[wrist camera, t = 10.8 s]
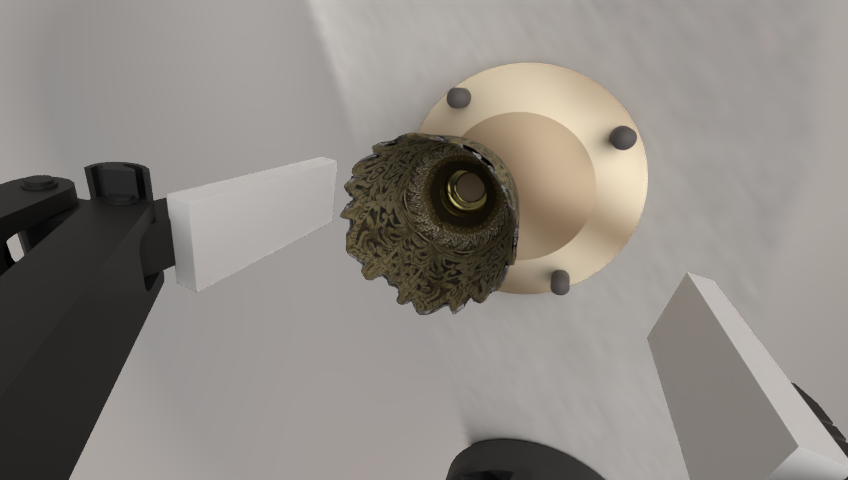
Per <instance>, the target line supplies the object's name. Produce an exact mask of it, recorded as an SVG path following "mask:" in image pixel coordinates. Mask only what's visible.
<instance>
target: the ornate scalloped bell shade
mask: <svg viewBox="0 0 848 480" xmlns="http://www.w3.org/2000/svg"><path fill="white" fill-rule="evenodd" d="M372 149H373V153H374V154H373V155H370V156H368V157H366V158H363V159H361V160H360V161H359V162H358V163H357V164H355V166H354V167H353V168H352V174H353V176H352V177H351V179H350V181H348V182H347V183H346V184H345V185H344V188H345V190H346V191H347V192H348V193H349V196H350V197H352V198H353V200H352V201H351V202H350V203H348V204H347V205H346V207H345V209H344V210H343V211H342V213H341V215H340V217H342V218H345V219H349V220H350V227H349V230H348V232H347V233H346V251H347V253H348V254H349V255H350V256H351V257H353V258H355V259H356V260H357V261H358V262H360V263H361V264H362V265H363V266H362V270H361V272H362V274H363V276H364V277H365V279H367V280H374V279H375V278H377V277H380V276H383V277H384V278H385V279H386V280H387V282H388V285H389V286H393V287H395V288H397V289H398V293H399V295H398V297H397V302H398V303H399V304H401V305H403V304H407V303H409V302H410V301H412V303H413V306H414V308H415V309H416V312H417V313H418V314H420V315H428V314H431V313H433V312H436V311H437V310H439V309H440V308H442V307H444V306H448V305H449V308H450V310H451V311H452V314H456V313H457V312H459V311H460V310H461V309H463V308H464V307H465V305H466V303H467V302H468V300H469V299H470V298H472V299H473V301H474V302H475V301H476V302H477V303H482V302H484V301H485V300H486V299H487V297H488V295H489V294H490V293H492V291H497V290H499V288H500V287H501V286H502V284H503V282H504V280H505V278H506V275H507V272H508V269H509V266H512V265H513V266H514V263H515V261H516V256H517V243H518V237H519V218H520V205H519V196H518V191H517V187H516V184H515V181H514V178H513V176H512V174H511V172H510V170H509V169H508V167H507V166H506V164H505V163H504V162H503V161H502V160H501V158H500V157H499V156H498V155H496V154H495V153H494V152H493V151H492V150H490V149H489V148H488V147H486V146H484V145H482V144H480V143H478V142H476V141H473V140H471V139H467V138H464V137H458V136H452V135H434V134H425V133H409V134H405V135H401V136H399V137H398V138H397V139H395V140H393V141H389V142H381V143H378V144H376V145H374V146H373V147H372ZM465 174H475V175H476V176H478V177H479V178H480V179H481V181H482V182H483V184H484V193H483V195H482V196H481V197H480V198H479V199H478V200H476V201H466V200H464V199H463V198H461V197H460V195H459V194H458V191H457V183H458V180H459V179H460V178H461V177H462V176H463V175H465Z"/></svg>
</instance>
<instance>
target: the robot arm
mask: <svg viewBox="0 0 848 480" xmlns="http://www.w3.org/2000/svg"><path fill="white" fill-rule="evenodd" d="M337 164H338V162H337V161H335V160H332V159H329V158H326V157H323V156H322V157H317V158H313V159H309V160H305V161H301V162H297V163H293V164H289V165H284V166H280V167H276V168H272V169H268V170H264V171H260V172H256V173H251V174H247V175H244V176H239V177H235V178H231V179H227V180H223V181H218V182H215V183H210V184H206V185H202V186H198V187H194V188H190V189H185V190H182V191H177V192H173V193H169V194H166V197H167V198H163V199H159V200H156V201H154V200H153V193H152V186H151V179H150V172H149V169H148V168H147V167H145V166H143V165H139V164H134V163H127V162H105V163H98V164H93V165H89V166H87V167H84V169H85V174H86V178H87V183H88V187H89V191H90V196H91V199H90V200H84V199H79V198H77V193H76V189H75V185H74V182H72V181H71V180H69V179H64V178H59V177H51V176H48V175H43V176H41V175H40V176H39V175H37V176H30V177H26V178H21V179H17V180H13V181H9V182H6V183H4V184H0V480H69V478H70V476H71V474H72V472H73V470H74V467H75V465H76V463H77V461H78V459H79V457H80V455H81V453H82V451H83V449H84V447H85V444H86V443H87V440H88V438H89V436H90V434H91V432H92V430H93V428H94V426H95V424H96V422H97V420H98V418H99V416H100V413H101V411H102V409H103V407H104V405H105V403H106V401H107V399H108V397H109V395H110V393H111V391H112V389H113V387H114V384H115V382H116V380H117V378H118V376H119V374H120V372H121V370H122V368H123V366H124V364H125V362H126V360H127V358H128V356H129V353H130V351H131V349H132V347H133V345H134V343H135V341H136V339H137V337H138V335H139V333H140V331H141V329H142V327H143V324H144V322H145V320H146V318H147V316H148V314H149V312H150V310H151V308H152V306H153V304H154V302H155V299H156V297H157V295H158V293H159V291H160V289H161V287H162V285H163V283H164V272H163V270H165V269H167V268H169V267H171V266H174V265H175V270H176V279H177V283H178V284H180V285H182V286H184V287H186V288H188V289H191V290H193V291H195V292H199V291H201V290H203V289H205V288H207V287H209V286H211V285H212V284H214V283H216V282H218V281H220V280H222V279H224V278H226V277H228V276H230V275H232V274H233V273H235V272H237V271H239V270H241V269H243V268H245V267H247V266H248V265H251V264H253V263H254V262H256V261H258V260H260V259H262V258H264V257H266V256H268V255H270V254H272V253H273V252H275V251H277V250H279V249H281V248H283V247H285V246H287V245H289V244H291V243H293V242H294V241H296V240H298V239H300V238H302V237H304V236H306V235H308V234H310V233H312V232H314V231H316V230H317V229H319V228H321V227H323V226H325V225H327V224H329V223H331V222H332V217H333V206H334V195H335V185H336V174H337ZM16 233H17V234H18V237H19V240H20V243H21V246H22V249H23V252H24V255H25V256H24V257H22V258H21V259H20V260H19V261H17V262H15V261H14V260H13V259H12V257H11V254H10V251H9V248H8V246H7V243H6V242H7V240H8V239H9V238H10V237H12V236H13V235H14V234H16ZM647 339H648V342H649V345H650V348H651V352H652V355H653V358H654V362H655V365H656V368H657V371H658V375H659V378H660V381H661V385H662V388H663V391H664V394H665V398H666V401H667V404H668V408H669V411H670V414H671V417H672V421H673V424H674V427H675V431H676V434H677V437H678V441H679V444H680V447H681V450H682V454H683V457H684V460H685V464H686V467H687V470H688V473H689V477H690V480H848V443H846V442H845V441H846V439H845V438H844V436H843V435H842V434H841V432H840V431H839V430H838V429H837V427H835V426H832V424H833V422H832V421H831V420H830V418H829V417H828V416H827V415H826V413H825V412H824V411H823V410H822V408H821V407H820V406H819V405H818V403H816V402H815V401H814V400H813V399H812V398H811V397H810V396H808V395H807V394H806V393H805V392H804V391H803V390H801V389H800V388H799V387H798V386H797V385H795V384H794V383H791V382H790V381H789V380H788V379H787V377H786V376H785V374H784V373H783V372H782V370H781V369H780V368H779V367H778V365H777V364H776V362H775V361H774V360H773V359H772V357H771V356H770V355H769V353H768V352H767V351H766V349H765V348H764V347H763V345H762V344H761V343H760V341H759V340H758V339H757V337H756V336H755V335H754V333H753V332H752V331H751V329H750V328H749V327H748V325H747V324H746V323H745V321H744V320H743V319H742V317H741V316H740V315H739V314H738V312H737V311H736V310H735V308H734V307H733V306H732V304H731V303H730V302H729V300H728V299H727V298H726V296H725V295H724V294H723V292H722V291H721V290H720V288H719V287H718V286H717V284H716V283H715V282H714V281H713V280H710V279H707V278H704V277H701V276H698V275H694V274H691V273H688V272H687V273H686V275H685V276H684V278H683V280H682V281H681V283H680V285H679V286H678V288H677V290H676V291H675V293H674V294H673V296H672V298H671V299H670V301H669V303H668V304H667V306H666V308H665V309H664V311H663V313H662V314H661V316H660V318H659V319H658V321H657V322H656V324H655V326H654V327H653V329H652V331H651V332H650V334H649V336H648V337H647ZM446 480H604V479H603V478H602V477H601V476H599V475H598V474H597V473H596V472H594V471H593V470H591V469H590V468H589V467H587V466H585V465H584V464H582V463H581V462H579V461H577V460H575V459H573V458H571V457H569V456H567V455H565V454H563V453H561V452H558V451H556V450H553V449H550V448H547V447H544V446H541V445H537V444H533V443H529V442H523V441H516V440H492V441H485V442H481V443H478V444H475V445H472V446H470V447H468V448H466V449H465V450H463V451H462V452H461V453H459V455H457V456H456V458H455V459H454V460H453V462H452V464H451V466H450V469H449V471H448V475H447V478H446Z"/></svg>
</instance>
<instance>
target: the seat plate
mask: <svg viewBox="0 0 848 480" xmlns="http://www.w3.org/2000/svg"><path fill="white" fill-rule="evenodd" d="M417 133H425V134H434V135H452V136H458V137H464V138H467V139H471V140H473V141H476V142H478V143H480V144H482V145H484V146H486V147H488V148H489V149H490V150H492V151H493V152H494V153H495V154H496V155H498V156H499V157H500V158H501V160H502V161H503V162H504V163H505V164H506V166H507V167H508V169H509V170H510V172H511V174H512V176H513V178H514V181H515V184H516V187H517V191H518V196H519V205H520V218H519V237H518V243H517V256H516V261H515V263H514V266H513V265H512V266H509V269H508V272H507V275H506V278H505V280H504V282H503V284H502V286H501V287H500V288H499V290H497V291H501V292H507V293H515V294H538V293H545V292H553V293H555V294H557V295H564V294H566V293H567V292H568V291H569V287H570V286H571V285H574V284H576V283H579V282H581V281H583V280H584V279H586V278H588V277H590V276H592V275H593V274H595V273H596V272H597V271H599V270H600V269H602V268H603V267H604V266H606V265H607V264H608V263H609V262H610V261H611V260H612V259H613V258H614V257H615V256H616V255H617V254H618V253H619V252H620V250H621V249H622V248H623V247H624V245H625V244H626V243H627V242H628V240H629V238H630V237H631V235H632V233H633V232H634V230H635V228H636V226H637V224H638V221H639V219H640V216H641V214H642V211H643V207H644V203H645V199H646V194H647V184H648V172H647V160H646V155H645V151H644V146H643V143H642V140H641V138H640V135H639V133H638V130H637V128H636V126H635V124H634V123H633V121H632V119H631V118H630V116H629V114H628V113H627V111H626V110H625V109H624V108H623V106H622V105H621V104H620V103H619V102H618V100H617V99H616V98H615V97H614V96H612V95H611V94H610V93H609V92H608V91H607V90H606V89H605V88H603V87H602V86H601V85H599V84H597V83H596V82H594V81H593V80H591V79H590V78H588V77H586V76H584V75H582V74H579V73H577V72H575V71H573V70H570V69H567V68H563V67H560V66H556V65H551V64H543V63H514V64H508V65H501V66H498V67H494V68H491V69H488V70H485V71H482V72H480V73H478V74H476V75H474V76H471V77H469V78H468V79H466V80H464V81H463V82H461V83H460V84H458V85H457V86H455V87H454V88H452V89H451V90H450V91H449V92H448V93H447V94H445V95H444V96H443V97H442V98H441V99H440V100H439V102H438V103H437V104H436V105H435V106H434V107H433V108H432V110H431V111H430V112H429V114H428V115H427V117H426V118H425V119H424V121H423V123H422V125H421V127H420V129H419V130H418V132H417ZM457 191H458V194H459V195H460V197H461V198H463V199H464V200H466V201H476V200H478V199H479V198H480V197H481V196H482V195H483V193H484V184H483V182H482V181H481V179H480V178H479V177H478V176H476V175H475V174H465V175H463V176H462V177H461V178H460V179H459V180H458V183H457Z"/></svg>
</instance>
